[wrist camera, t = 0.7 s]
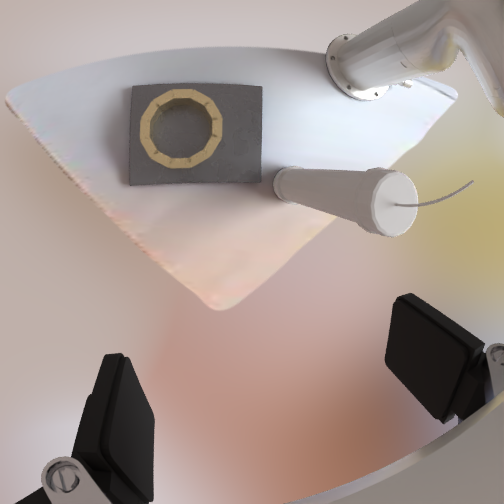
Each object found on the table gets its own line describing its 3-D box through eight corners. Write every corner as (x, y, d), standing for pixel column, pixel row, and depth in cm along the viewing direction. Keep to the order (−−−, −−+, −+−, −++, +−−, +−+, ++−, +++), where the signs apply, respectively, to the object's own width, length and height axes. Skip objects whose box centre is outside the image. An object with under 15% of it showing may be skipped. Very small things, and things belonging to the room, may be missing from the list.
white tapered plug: (263, 185, 42) (410, 220, 14) (291, 155, 42) (458, 147, 14) (289, 210, 44) (444, 278, 16) (316, 180, 44) (486, 209, 16)
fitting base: (259, 89, 38) (270, 78, 33) (258, 181, 42) (268, 183, 37) (134, 88, 34) (127, 77, 29) (131, 185, 38) (124, 187, 33)
